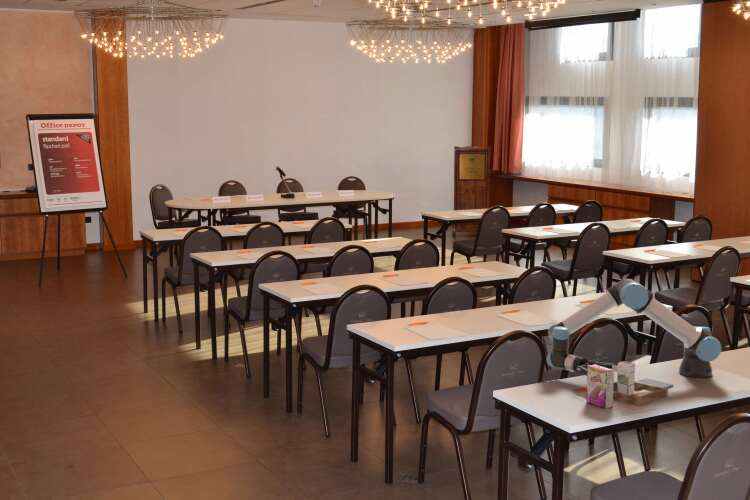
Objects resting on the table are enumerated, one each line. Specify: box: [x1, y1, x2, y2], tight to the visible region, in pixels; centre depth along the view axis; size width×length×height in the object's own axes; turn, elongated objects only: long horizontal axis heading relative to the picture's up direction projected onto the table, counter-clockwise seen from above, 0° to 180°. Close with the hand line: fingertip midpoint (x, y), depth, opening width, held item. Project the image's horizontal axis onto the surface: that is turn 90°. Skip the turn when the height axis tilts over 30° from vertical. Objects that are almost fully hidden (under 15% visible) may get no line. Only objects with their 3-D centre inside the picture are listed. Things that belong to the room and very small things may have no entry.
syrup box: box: [616, 360, 636, 395], centre depth 404 cm, size 6×6×14 cm
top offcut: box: [631, 390, 652, 397], centre depth 398 cm, size 5×10×1 cm, turn 131°
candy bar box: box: [585, 364, 615, 410], centre depth 388 cm, size 11×5×16 cm, turn 33°
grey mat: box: [637, 377, 674, 389], centre depth 418 cm, size 14×14×1 cm
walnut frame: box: [613, 380, 669, 407], centre depth 402 cm, size 22×23×4 cm
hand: (616, 373), depth 407 cm, fingers open, 13 cm apart
